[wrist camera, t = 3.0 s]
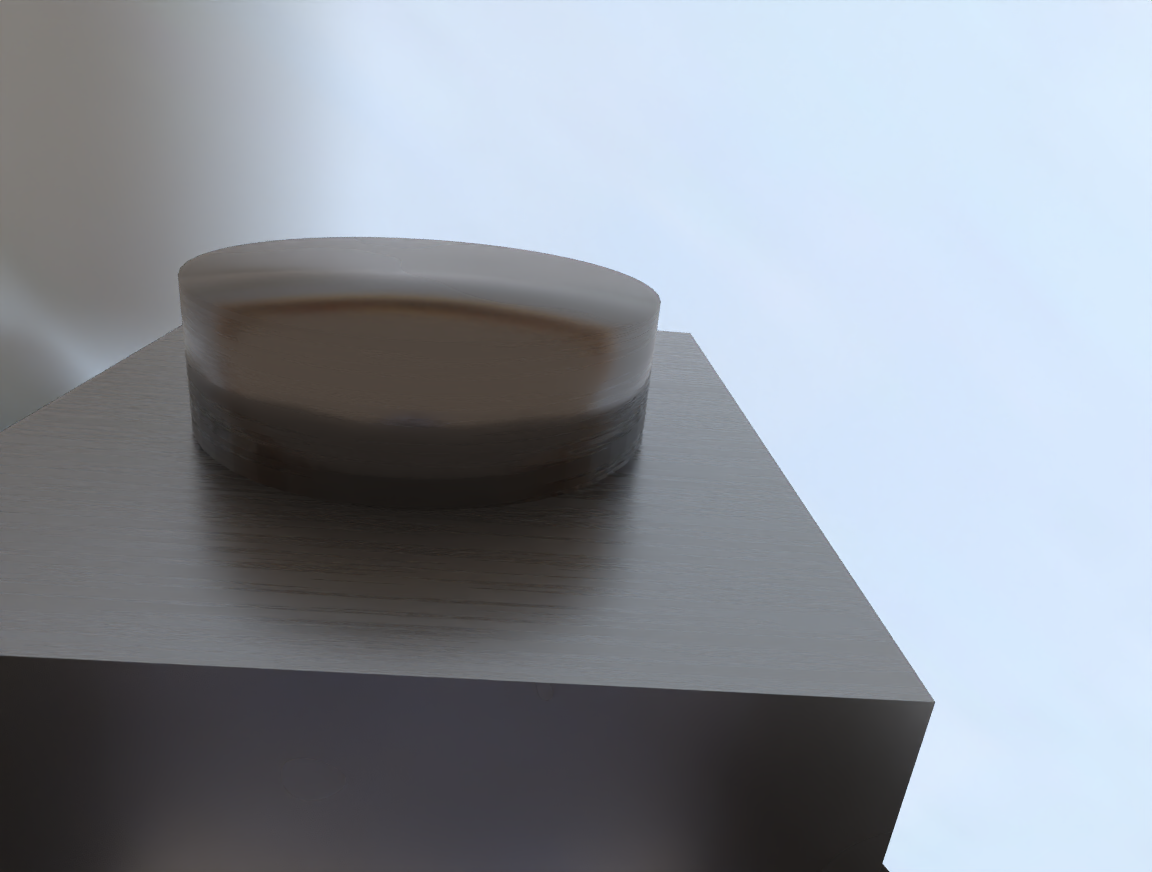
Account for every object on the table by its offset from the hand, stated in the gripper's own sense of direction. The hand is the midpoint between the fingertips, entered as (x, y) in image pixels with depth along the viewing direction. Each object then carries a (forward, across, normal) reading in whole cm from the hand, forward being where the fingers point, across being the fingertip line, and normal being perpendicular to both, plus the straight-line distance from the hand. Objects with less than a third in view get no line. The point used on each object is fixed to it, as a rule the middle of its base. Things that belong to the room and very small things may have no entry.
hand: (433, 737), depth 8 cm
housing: (+2, 0, 0) cm, 2 cm away
